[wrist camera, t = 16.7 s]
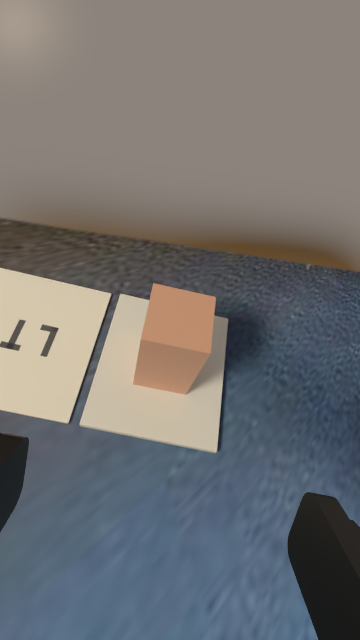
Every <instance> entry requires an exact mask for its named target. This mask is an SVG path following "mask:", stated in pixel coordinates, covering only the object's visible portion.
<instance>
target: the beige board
mask: <svg viewBox="0 0 360 640" xmlns="http://www.w3.org/2000/svg"><path fill="white" fill-rule="evenodd" d="M149 301H150V300H145V299H141V298H137V297H133V296H128V295H124V294H120V297H119V300H118V304H117V307H116V310H115V313H114V316H113V319H112V323H111V326H110V329H109V332H108V335H107V339H106V342H105V345H104V348H103V351H102V354H101V358H100V361H99V364H98V367H97V370H96V374H95V377H94V380H93V383H92V386H91V389H90V393H89V396H88V399H87V402H86V405H85V408H84V412H83V415H82V418H81V421H80V424H79V425H80V426H82V427H87V428H92V429H97V430H102V431H107V432H112V433H117V434H122V435H127V436H132V437H136V438H141V439H146V440H151V441H156V442H161V443H166V444H171V445H176V446H181V447H186V448H191V449H196V450H201V451H206V452H211V453H216V452H217V445H218V433H219V421H220V409H221V398H222V386H223V374H224V362H225V351H226V339H227V327H228V319H227V318H223V317H218V316H214V323H213V334H212V344H211V354H210V356H209V357H208V359H207V360H206V362H205V364H204V365H203V367H202V369H201V370H200V372H199V374H198V375H197V377H196V378H195V380H194V382H193V383H192V385H191V387H190V388H189V390H188V392H187V393H186V395H184V394H179V393H174V392H169V391H164V390H159V389H154V388H148V387H143V386H138V385H133V380H134V374H135V369H136V363H137V357H138V352H139V346H140V340H141V336H142V331H143V327H144V323H145V318H146V314H147V310H148V305H149Z"/></svg>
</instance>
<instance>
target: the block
mask: <svg viewBox="0 0 360 640" xmlns="http://www.w3.org/2000/svg"><path fill="white" fill-rule="evenodd" d="M215 302H216V297H213V296H208V295H204V294H199V293H195V292H190V291H186V290H181V289H177V288H172V287H168V286H163V285H159V284H154V283H153V288H152V292H151V296H150V301H149V305H148V310H147V314H146V318H145V323H144V327H143V331H142V336H141V340H140V346H139V352H138V357H137V363H136V369H135V374H134V380H133V385H138V386H143V387H148V388H154V389H159V390H164V391H169V392H174V393H179V394H184V395H186V393H187V392H188V390H189V388H190V387H191V385H192V383H193V382H194V380H195V378H196V377H197V375H198V374H199V372H200V370H201V369H202V367H203V365H204V364H205V362H206V360H207V359H208V357H209V356H210V354H211V344H212V334H213V323H214V312H215Z"/></svg>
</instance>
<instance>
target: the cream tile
mask: <svg viewBox="0 0 360 640" xmlns="http://www.w3.org/2000/svg"><path fill="white" fill-rule="evenodd" d="M110 297H111V294H110V293H106V292H102V291H97V290H93V289H89V288H85V287H80V286H76V285H72V284H67V283H63V282H59V281H54V280H50V279H46V278H42V277H37V276H33V275H29V274H24V273H20V272H16V271H11V270H7V269H3V268H0V410H2V411H7V412H12V413H17V414H22V415H27V416H32V417H37V418H42V419H47V420H52V421H57V422H62V423H67V424H68V423H69V420H70V417H71V414H72V411H73V408H74V405H75V402H76V399H77V396H78V393H79V390H80V387H81V384H82V381H83V378H84V375H85V372H86V369H87V366H88V363H89V360H90V357H91V354H92V351H93V348H94V345H95V342H96V339H97V336H98V333H99V330H100V327H101V324H102V321H103V318H104V315H105V312H106V309H107V306H108V303H109V300H110Z"/></svg>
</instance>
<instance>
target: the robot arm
mask: <svg viewBox="0 0 360 640" xmlns="http://www.w3.org/2000/svg"><path fill="white" fill-rule="evenodd" d="M28 446H29V439H28V438H27V437H22V436H17V435H12V434H7V433H1V432H0V532H1V530H2V528H3V527H4V525H5V523H6V522H7V520H8V518H9V517H10V515H11V513H12V512H13V510H14V508H15V506H16V504H17V502H18V499H19V497H20V494H21V490H22V486H23V481H24V474H25V467H26V460H27V453H28ZM288 555H289V559H290V562H291V565H292V568H293V570H294V573H295V576H296V579H297V582H298V584H299V587H300V590H301V593H302V595H303V598H304V601H305V604H306V606H307V609H308V612H309V615H310V617H311V620H312V623H313V626H314V628H315V631H316V634H317V637H318V640H360V527H359V526H358V525H357V524H356V523H355V522H354V521H353V520H350V519H349V518H348V516H347V515H346V513H345V511H344V510H343V508H342V507H341V505H340V503H339V502H338V501H337V499H336V498H334V497H331V496H326V495H321V494H315V493H310V492H307V493H305V494H304V496H303V498H302V500H301V503H300V506H299V508H298V511H297V514H296V516H295V519H294V522H293V524H292V527H291V530H290V533H289V536H288Z"/></svg>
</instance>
